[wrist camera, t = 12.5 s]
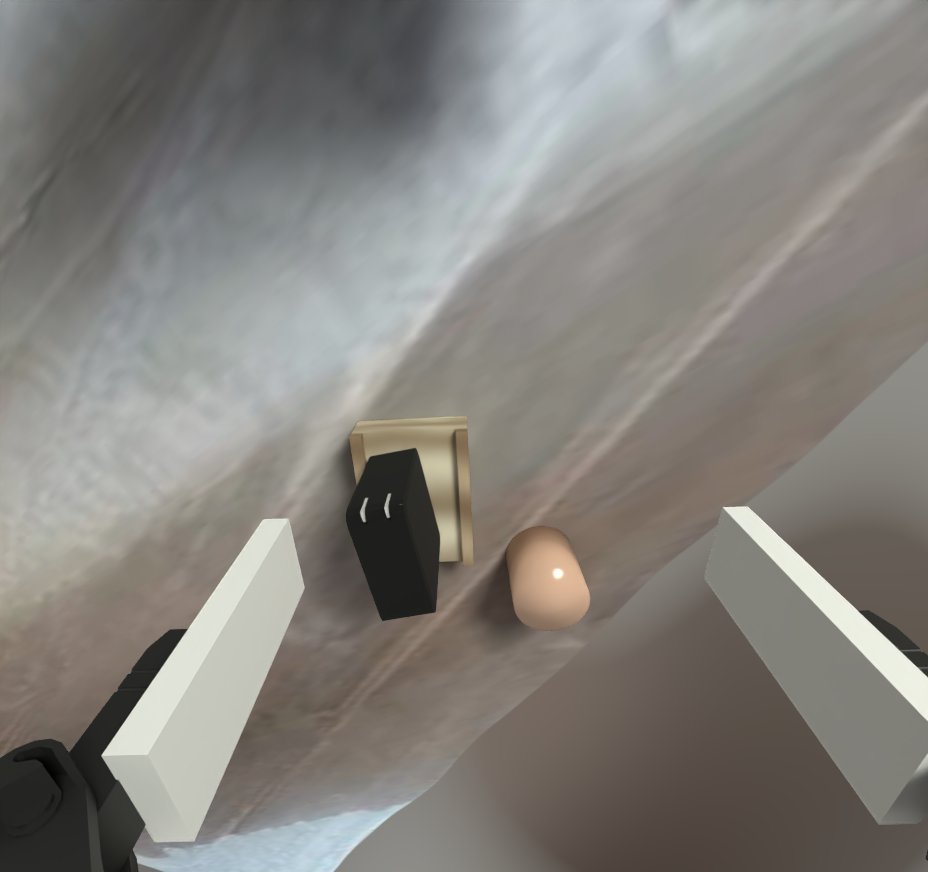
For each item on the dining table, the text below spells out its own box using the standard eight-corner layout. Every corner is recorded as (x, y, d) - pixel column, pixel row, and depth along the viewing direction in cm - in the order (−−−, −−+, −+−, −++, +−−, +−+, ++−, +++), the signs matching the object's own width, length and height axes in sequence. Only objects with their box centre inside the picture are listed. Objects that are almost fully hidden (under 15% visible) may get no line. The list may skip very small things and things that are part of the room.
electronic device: (399, 544, 42) (382, 626, 33) (370, 452, 39) (342, 516, 29) (441, 537, 42) (436, 618, 33) (416, 444, 38) (403, 505, 29)
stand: (358, 421, 41) (349, 437, 37) (466, 416, 40) (467, 431, 37) (377, 545, 46) (370, 570, 43) (472, 541, 46) (473, 565, 42)
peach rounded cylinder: (505, 527, 45) (513, 573, 39) (573, 524, 45) (592, 570, 39) (506, 581, 48) (513, 632, 42) (570, 578, 48) (587, 629, 42)
